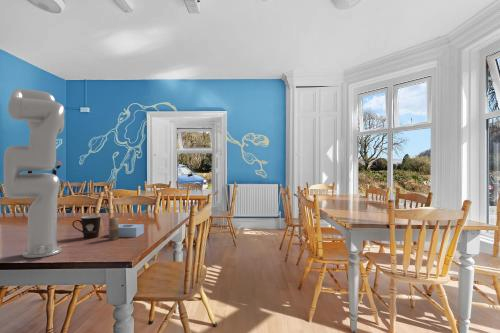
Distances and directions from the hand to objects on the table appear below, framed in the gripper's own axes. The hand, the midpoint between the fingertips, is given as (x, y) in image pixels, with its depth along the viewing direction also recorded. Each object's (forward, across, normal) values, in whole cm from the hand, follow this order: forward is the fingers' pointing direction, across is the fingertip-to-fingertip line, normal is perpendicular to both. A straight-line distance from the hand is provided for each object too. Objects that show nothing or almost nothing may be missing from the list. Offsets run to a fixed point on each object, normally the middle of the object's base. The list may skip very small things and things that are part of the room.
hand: (42, 178), depth 151 cm
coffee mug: (+29, +16, -19) cm, 38 cm away
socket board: (+29, +32, -26) cm, 51 cm away
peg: (+29, +24, -32) cm, 50 cm away
